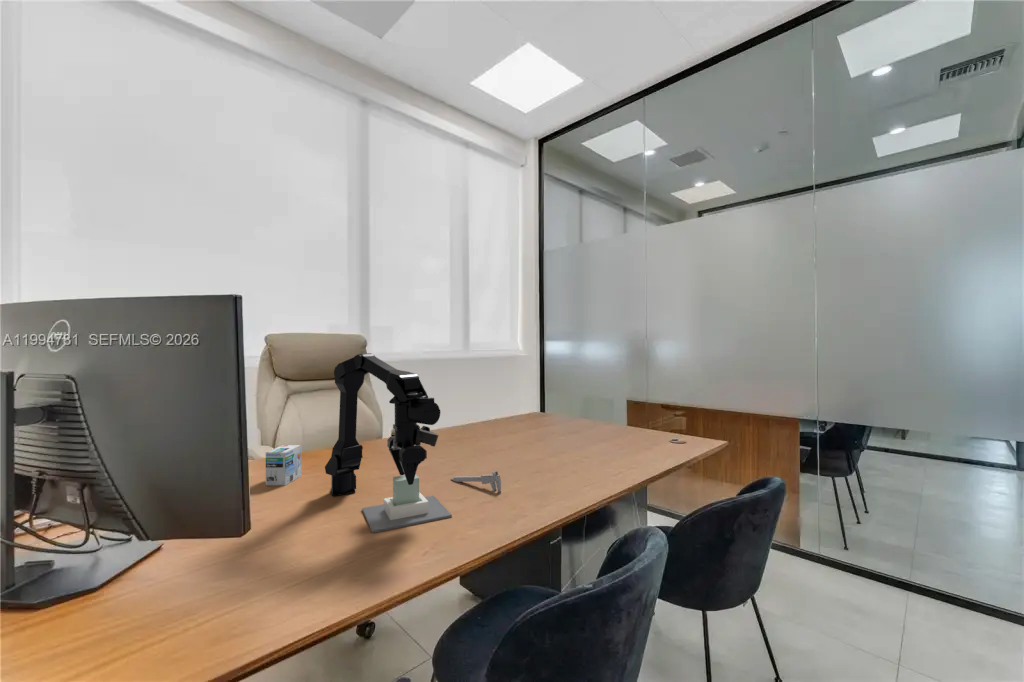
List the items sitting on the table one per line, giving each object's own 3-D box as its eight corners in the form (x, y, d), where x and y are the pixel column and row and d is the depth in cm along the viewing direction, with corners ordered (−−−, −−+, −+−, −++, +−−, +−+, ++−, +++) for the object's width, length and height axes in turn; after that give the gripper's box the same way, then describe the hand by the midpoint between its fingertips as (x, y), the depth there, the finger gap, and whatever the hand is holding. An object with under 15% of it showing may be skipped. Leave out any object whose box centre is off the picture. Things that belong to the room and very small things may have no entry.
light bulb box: (285, 486, 139) (285, 452, 139) (264, 486, 139) (264, 452, 139) (302, 475, 150) (301, 444, 150) (282, 475, 150) (282, 444, 150)
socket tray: (372, 533, 104) (372, 518, 104) (362, 510, 118) (362, 497, 118) (451, 516, 114) (451, 503, 114) (433, 497, 128) (433, 485, 128)
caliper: (501, 492, 133) (501, 471, 133) (499, 493, 132) (499, 472, 132) (452, 480, 145) (452, 461, 145) (450, 480, 144) (450, 462, 144)
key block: (419, 511, 116) (419, 477, 116) (396, 515, 113) (396, 481, 113) (415, 506, 119) (415, 473, 119) (393, 510, 116) (392, 477, 116)
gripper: (446, 423, 111) (446, 484, 111) (425, 413, 128) (425, 466, 128) (402, 428, 106) (403, 492, 106) (386, 416, 123) (387, 472, 123)
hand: (406, 479), depth 116 cm, fingers open, 9 cm apart
